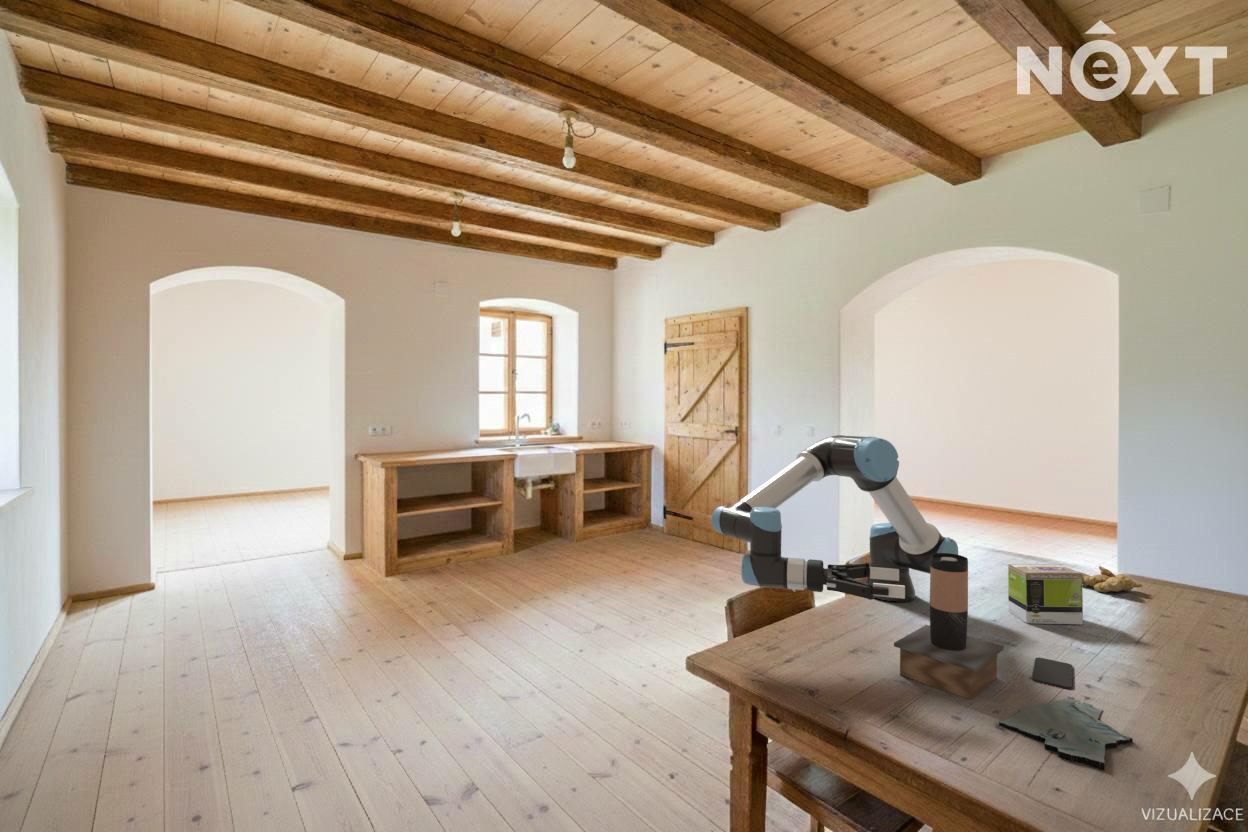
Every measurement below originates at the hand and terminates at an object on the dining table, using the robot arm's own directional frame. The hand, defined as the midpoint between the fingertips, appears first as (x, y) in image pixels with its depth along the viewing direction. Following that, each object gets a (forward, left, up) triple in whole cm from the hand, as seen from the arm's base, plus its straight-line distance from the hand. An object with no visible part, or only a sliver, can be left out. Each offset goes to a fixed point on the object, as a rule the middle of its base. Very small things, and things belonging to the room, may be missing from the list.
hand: (901, 583), depth 140 cm
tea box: (+11, +64, -21) cm, 68 cm away
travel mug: (+8, +5, -13) cm, 16 cm away
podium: (+8, +5, -21) cm, 23 cm away
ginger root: (+17, +110, -21) cm, 113 cm away
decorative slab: (+32, -1, -21) cm, 39 cm away
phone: (+23, +25, -21) cm, 40 cm away
